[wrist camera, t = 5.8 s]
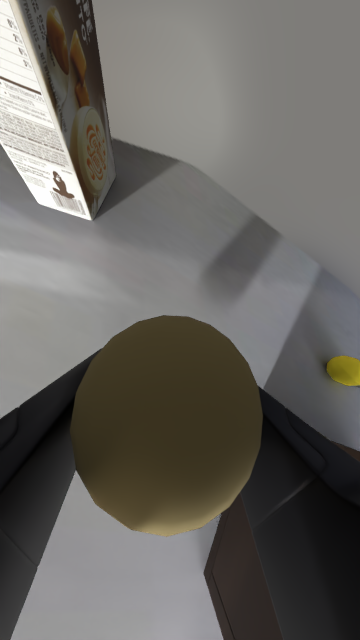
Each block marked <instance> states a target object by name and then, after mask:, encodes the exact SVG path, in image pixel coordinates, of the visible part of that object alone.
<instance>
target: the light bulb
mask: <svg viewBox="0 0 360 640" xmlns="http://www.w3.org/2000/svg"><path fill="white" fill-rule="evenodd" d="M327 372H328V374H329V375H330V376H331V377H332V378H333V380H334V381H336V382H339V383H341V384H344V385H347V386H357V387H360V361H359V360H358V359H356V358H352V357H348V356H338V357H333V358H332V359H331V360H330V361H329V362H328V363H327Z"/></svg>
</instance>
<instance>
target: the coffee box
mask: <svg viewBox="0 0 360 640" xmlns="http://www.w3.org/2000/svg"><path fill="white" fill-rule="evenodd" d="M0 143H1V145H2V146H3V148H4V150H5V151H6V153H7V154H8V156H9V157H10V159H11V161H12V162H13V164H14V165H15V167H16V169H17V170H18V172H19V173H20V175H21V176H22V178H23V180H24V181H25V183H26V184H27V186H28V188H29V189H30V191H31V192H32V194H33V195H34V197H35V199H36V200H37V202H38V203H39V204H41V205H44V206H47V207H50V208H53V209H56V210H60V211H63V212H66V213H69V214H72V215H75V216H78V217H82V218H85V219H88V220H91V221H92V220H93V219H94V218H95V216H96V214H97V212H98V210H99V208H100V206H101V204H102V202H103V200H104V198H105V197H106V195H107V193H108V191H109V189H110V187H111V185H112V183H113V181H114V179H115V177H116V171H115V164H114V156H113V149H112V141H111V135H110V129H109V120H108V114H107V107H106V99H105V92H104V84H103V77H102V70H101V64H100V56H99V49H98V42H97V35H96V28H95V20H94V13H93V7H92V0H0Z"/></svg>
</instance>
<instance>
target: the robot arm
mask: <svg viewBox="0 0 360 640" xmlns="http://www.w3.org/2000/svg"><path fill="white" fill-rule="evenodd" d="M102 349H103V348H101V349H100V350H98V351H97V352H96V353H94V354H93V355H91V356H90V357H88V358H87V359H86V360H84V361H83V362H81V363H80V364H78V365H77V366H76V367H74V368H73V369H71V370H70V371H68V372H67V373H66V374H64V375H63V376H61V377H60V378H58V379H57V380H55V381H54V382H53V383H51V384H50V385H48V386H47V387H45V388H44V389H43V390H41V391H40V392H38V393H37V394H35V395H34V396H33V397H31V398H30V399H28V400H27V401H25V402H24V403H23V404H21V405H20V406H19V407H17V408H15V409H14V410H12V411H11V412H10V413H8V414H7V415H5V416H4V417H2V418H1V419H0V640H10V639H11V636H12V634H13V631H14V628H15V626H16V623H17V621H18V618H19V615H20V613H21V610H22V608H23V605H24V602H25V600H26V597H27V595H28V592H29V590H30V587H31V584H32V582H33V579H34V577H35V574H36V572H37V567H38V565H39V563H40V561H41V558H42V556H43V553H44V551H45V548H46V545H47V543H48V540H49V538H50V535H51V532H52V530H53V527H54V525H55V522H56V519H57V517H58V514H59V512H60V509H61V507H62V504H63V501H64V499H65V496H66V494H67V491H68V488H69V486H70V483H71V481H72V478H73V475H74V473H75V470H76V466H75V460H74V454H73V447H72V441H71V434H70V427H71V421H72V414H73V408H74V402H75V396H76V392H77V390H78V387H79V385H80V383H81V381H82V379H83V377H84V375H85V373H86V371H87V369H88V367H89V365H90V363H91V361H92V360H93V358H94V357H95V356H96V355H97V354H98V353H99V352H100V351H101V350H102ZM257 386H258V385H257ZM258 389H259V395H260V401H261V407H262V414H263V420H262V432H261V444H260V449H259V452H258V455H257V458H256V461H255V464H254V466H253V469H252V472H251V475H250V478H249V480H248V481H247V483H246V484H245V485H244V487H243V488H242V490H241V491H240V494H241V497H242V501H243V504H244V507H245V511H246V514H247V518H248V521H249V524H250V528H251V530H252V535H253V538H254V542H255V545H256V549H257V552H258V555H259V559H260V562H261V566H262V569H263V572H264V576H265V579H266V583H267V586H268V589H269V593H270V596H271V600H272V603H273V606H274V610H275V613H276V617H277V620H278V623H279V627H280V630H281V634H282V637H283V640H360V461H358V460H357V459H355V458H354V457H352V456H351V455H350V454H348V453H347V452H345V451H344V450H343V449H341V448H340V447H338V446H337V445H336V444H334V443H333V442H331V441H330V440H328V439H327V438H326V437H324V436H323V435H322V434H320V433H319V432H317V431H316V430H315V429H313V428H312V427H310V426H309V425H308V424H306V423H305V422H304V421H303V420H301V419H300V418H299V417H297V416H296V415H295V414H293V413H292V412H291V411H290V410H288V409H287V408H285V407H284V406H283V405H282V404H281V403H279V402H278V401H277V400H276V399H274V398H273V397H272V396H270V395H269V394H268V393H267V392H265V391H264V390H263V389H261V388H260V387H259V386H258Z"/></svg>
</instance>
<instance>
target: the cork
mask: <svg viewBox="0 0 360 640" xmlns="http://www.w3.org/2000/svg"><path fill="white" fill-rule="evenodd" d="M262 420H263V414H262V407H261V401H260V395H259V389H258V386H257V383H256V381H255V378H254V376H253V374H252V371H251V369H250V367H249V364H248V362H247V361H246V360H245V358H244V357H243V356H242V355H241V353H240V352H239V351H238V349H237V348H236V347H235V346H234V344H233V343H232V342H231V341H230V339H228V338H227V337H226V336H224V335H223V334H222V333H220V332H219V331H218V330H216V329H215V328H214V327H212V326H211V325H209V324H206V323H204V322H201V321H198V320H195V319H193V318H190V317H185V316H166V315H163V316H159V317H155V318H151V319H147V320H143V321H139V322H137V323H135V324H133V325H132V326H130V327H128V328H127V329H125V330H124V331H122V332H120V333H119V334H117V335H115V336H114V337H113V338H112V339H111V340H110V341H109V342H108V343H107V344H106V345H105V346H104V347H103V349H102V350H101V351H100V352H99V353H98V354H97V355H96V356H95V357H94V358H93V360H92V361H91V363H90V365H89V367H88V369H87V371H86V373H85V375H84V377H83V379H82V381H81V383H80V385H79V387H78V390H77V392H76V396H75V402H74V408H73V414H72V421H71V427H70V434H71V441H72V447H73V454H74V460H75V466H76V471H77V472H78V474H79V476H80V478H81V479H82V481H83V483H84V485H85V486H86V488H87V490H88V492H89V494H90V495H91V497H92V499H93V501H94V502H95V504H96V505H97V506H99V507H100V508H101V509H103V510H104V511H105V512H107V513H108V514H109V515H111V516H112V517H113V518H115V519H116V520H117V521H119V522H120V523H121V524H123V525H124V526H126V527H127V528H129V529H131V530H135V531H140V532H145V533H150V534H156V535H161V536H166V537H167V536H171V535H175V534H179V533H183V532H187V531H191V530H195V529H198V528H201V527H203V526H204V525H205V524H207V523H208V522H209V521H211V520H212V519H214V518H215V517H216V516H218V515H219V514H220V513H222V512H223V511H224V510H226V509H227V508H229V507H230V505H231V504H232V502H233V501H234V500H235V498H236V497H237V495H238V494H239V492H240V491H241V490H242V488H243V487H244V485H245V484H246V483H247V481H248V480H249V478H250V475H251V472H252V469H253V466H254V464H255V461H256V458H257V455H258V452H259V449H260V444H261V432H262Z"/></svg>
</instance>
